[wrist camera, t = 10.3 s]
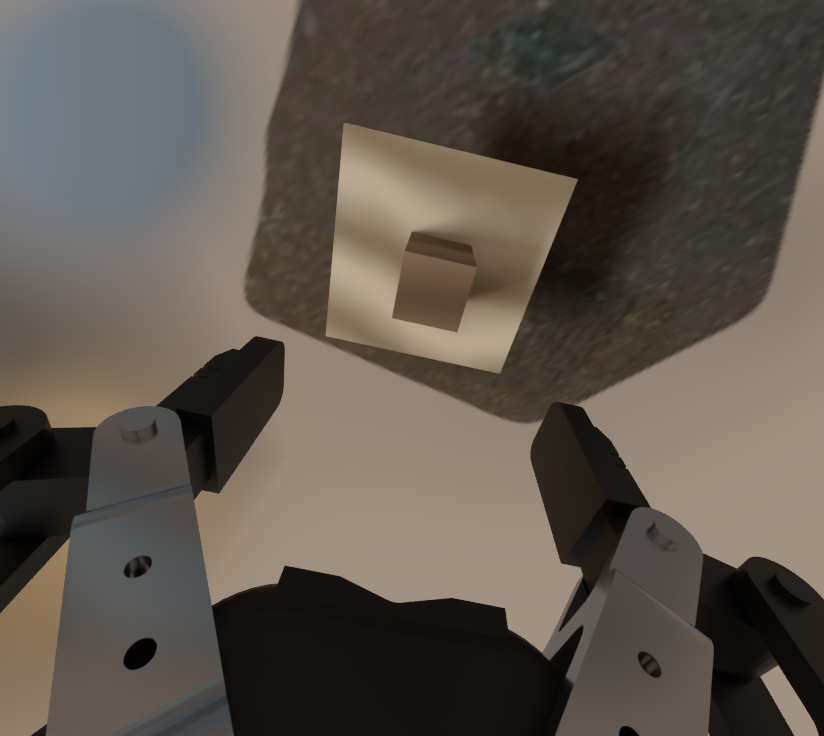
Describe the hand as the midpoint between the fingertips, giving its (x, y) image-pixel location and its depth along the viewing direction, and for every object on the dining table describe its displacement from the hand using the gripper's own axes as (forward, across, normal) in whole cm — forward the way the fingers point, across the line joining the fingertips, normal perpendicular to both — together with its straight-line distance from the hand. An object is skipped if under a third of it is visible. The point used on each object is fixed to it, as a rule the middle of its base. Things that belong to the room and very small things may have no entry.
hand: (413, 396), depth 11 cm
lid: (+17, 0, 0) cm, 17 cm away
